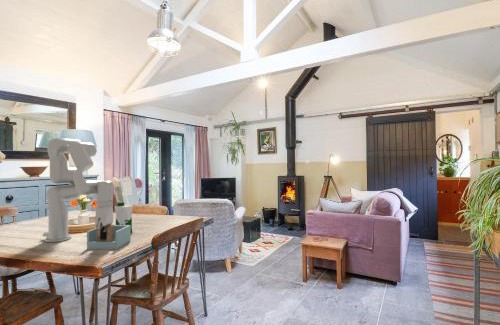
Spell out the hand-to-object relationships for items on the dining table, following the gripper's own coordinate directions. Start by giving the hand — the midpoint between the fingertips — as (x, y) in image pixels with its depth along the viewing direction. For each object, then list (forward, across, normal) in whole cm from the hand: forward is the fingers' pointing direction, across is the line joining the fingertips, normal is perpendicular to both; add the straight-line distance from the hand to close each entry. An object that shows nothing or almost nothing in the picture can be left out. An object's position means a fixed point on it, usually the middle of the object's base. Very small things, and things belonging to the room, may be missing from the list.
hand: (105, 238), depth 143 cm
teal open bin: (+5, -5, 0) cm, 7 cm away
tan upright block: (+3, 0, 0) cm, 3 cm away
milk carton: (+5, -27, -3) cm, 27 cm away
